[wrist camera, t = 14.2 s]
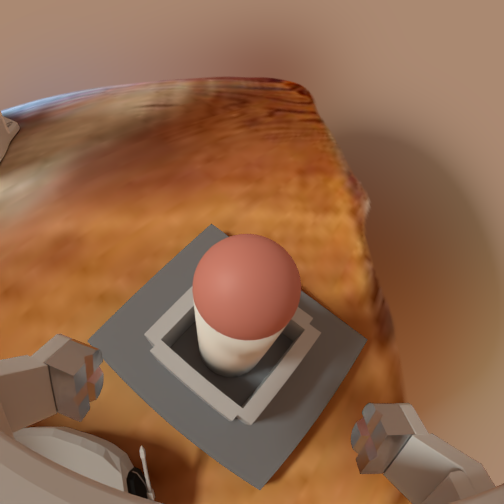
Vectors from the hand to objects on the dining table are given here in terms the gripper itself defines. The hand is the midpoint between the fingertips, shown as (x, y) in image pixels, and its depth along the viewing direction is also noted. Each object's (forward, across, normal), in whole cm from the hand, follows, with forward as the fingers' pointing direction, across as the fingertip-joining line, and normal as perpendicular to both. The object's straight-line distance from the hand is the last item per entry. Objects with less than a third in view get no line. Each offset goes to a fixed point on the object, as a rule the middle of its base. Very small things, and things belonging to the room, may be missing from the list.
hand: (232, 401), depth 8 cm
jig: (+13, 0, +6) cm, 15 cm away
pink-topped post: (+12, 0, +5) cm, 13 cm away
